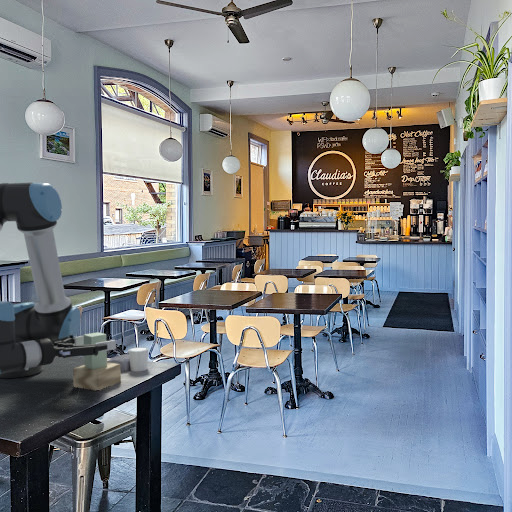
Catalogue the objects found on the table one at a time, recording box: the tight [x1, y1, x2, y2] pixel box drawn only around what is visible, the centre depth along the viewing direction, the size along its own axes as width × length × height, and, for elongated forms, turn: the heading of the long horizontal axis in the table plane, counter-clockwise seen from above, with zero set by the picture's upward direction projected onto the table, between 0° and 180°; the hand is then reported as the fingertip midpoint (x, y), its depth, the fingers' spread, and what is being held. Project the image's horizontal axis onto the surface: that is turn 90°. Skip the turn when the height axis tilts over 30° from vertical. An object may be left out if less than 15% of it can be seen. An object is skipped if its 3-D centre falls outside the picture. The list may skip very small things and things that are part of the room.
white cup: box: [127, 346, 149, 372], centre depth 186 cm, size 7×7×7 cm
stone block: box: [107, 353, 131, 372], centre depth 190 cm, size 12×5×10 cm
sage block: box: [82, 331, 108, 369], centre depth 168 cm, size 5×5×10 cm
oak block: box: [72, 362, 122, 391], centre depth 169 cm, size 10×10×6 cm
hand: (104, 341), depth 171 cm, fingers open, 12 cm apart
